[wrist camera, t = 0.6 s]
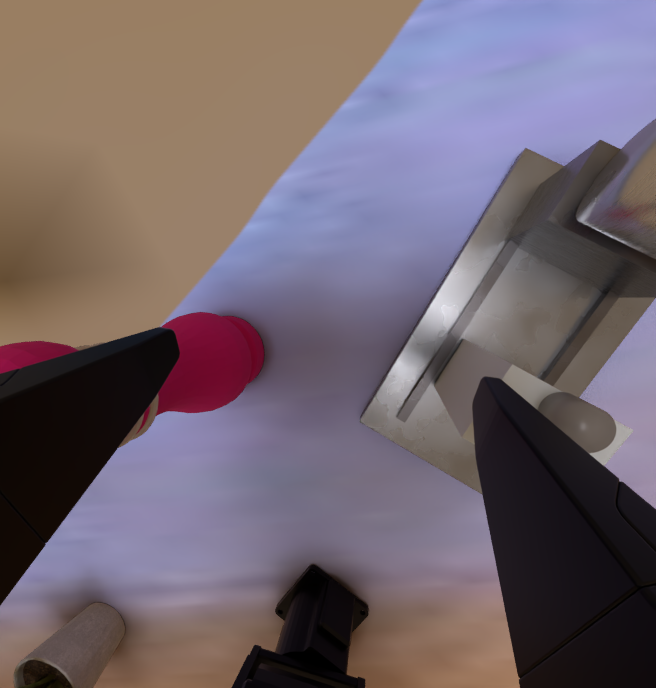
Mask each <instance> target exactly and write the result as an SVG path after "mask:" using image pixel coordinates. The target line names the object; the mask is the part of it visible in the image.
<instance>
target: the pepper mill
mask: <svg viewBox="0 0 656 688" xmlns="http://www.w3.org/2000/svg"><path fill="white" fill-rule="evenodd" d="M162 327H163V328H169V329H172V330H173V331H174V332H175V334H176V338H177V342H178V346H179V350H180V356H179V359H178V361H177V363H176V364H175V366H174V368H173V369H172V371H171V373H170V374H169V376H168V378H167V379H166V381H165V383H164V384H163V386H162V388H161V389H160V391H159V393H158V394H157V396H156V397H155V399H154V400H153V402H152V403H151V404H150V406H149V407H148V408H147V410H146V411H145V412H144V414H143V415H142V416H141V418H140V419H139V420H138V422H137V423H136V424H135V426H134V427H133V428H132V430H131V431H130V432H129V434H128V435H127V436H126V438H125V439H124V440H123V442H122V443H121V444H120V446H119V447H121V446H123V445H125V444H126V443H128V442H129V441H130V440H133V439H136V438H137V437H139V436H141V435H142V434H143V433H145V432H146V431H147V430H148V428H149V427H150V426H151V424H152V423H153V421H154V419H155V416H157V415H159V414H161V413H163V412H166V411H177V412H185V413H199V412H206V411H212V410H215V409H217V408H220V407H222V406H224V405H227V404H228V403H230V402H231V401H233V400H234V399H236V398H237V397H238V396H239V395H240V394H241V392H242V391H243V390H244V388H245V386H246V385H247V384H248V383H250V382H251V381H253V380H254V379H255V378H256V376H257V375H258V374H259V372H260V370H261V368H262V365H263V362H264V347H263V343H262V340H261V338H260V336H259V334H258V333H257V331H256V330H255V329H254V328H253V327H252V326H251V325H250V324H249V323H248V322H246V321H244V320H242V319H240V318H237V317H233V316H222V317H221V316H219V315H216V314H212V313H205V312H198V313H191V314H187V315H183V316H179V317H177V318H175V319H173V320H171V321H169V322H168V323H166V324H165V325H163V326H162ZM100 344H103V343H99V344H94V345H91V346H90V345H85V346H80V347H76V348H73V347H71V346H67V345H63V344H58V343H51V342H44V341H33V342H21V343H14V344H9V345H4V346H1V347H0V374H1V373H4V372H8V371H11V370H14V369H21V368H22V367H25V366H28V365H32V364H35V363H38V362H42V361H45V360H49V359H52V358H56V357H59V356H62V355H66V354H69V353H73V352H76V351H79V350H83V349H86V348H90V347H93V346H96V345H100ZM119 447H118V448H119Z"/></svg>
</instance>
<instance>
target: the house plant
mask: <svg viewBox="0 0 656 688" xmlns="http://www.w3.org/2000/svg"><path fill="white" fill-rule="evenodd" d="M124 634H125V625H124V622H123V620H122V617H121V616H120V615H119V613H118V612H117V611H116V610H115V609H114V608H112V607H111V606H109V605H107V604H104V603H93V604H91V605H89V606H88V607H87V608H85V609H84V610H83V611H82V612H81V613H79V614H78V615H77V616H76V617H74V618H73V619H72V620H71V621H69V622H68V623H67V624H66V625H65V626H63V627H62V628H61V629H60V630H58V631H57V632H56V633H55V634H53V635H52V636H51V637H50V638H49V639H47V640H46V641H45V642H44V643H42V644H41V645H40V646H39V647H37V648H36V649H35V650H34V651H33V652H31V653H30V654H29V655H28V656H26V657H25V658H24V659H23V660H21V661H20V663H19V664H18V665H17V666H16V669H15V672H14V686H15V688H93V687H94V685H95V684H96V682H97V680H98V678H99V677H100V675H101V673H102V672H103V670H104V668H105V667H106V665H107V663H108V661H109V660H110V658H111V656H112V655H113V653H114V651H115V650H116V648H117V646H118V645H119V643H120V641H121V639H122V638H123V636H124Z"/></svg>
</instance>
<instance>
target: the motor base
mask: <svg viewBox="0 0 656 688" xmlns="http://www.w3.org/2000/svg"><path fill="white" fill-rule="evenodd" d="M655 298H656V119H655V120H653V121H652V122H651V123H649V124H648V125H647V126H645V127H644V128H643V129H642V130H641V131H640V132H638V133H637V134H636V135H635V136H634V137H633V138H632V139H631V140H630V141H629V142H628V143H627V144H626V145H625V146H624V147H623V148H622V149H619V148H617V147H614V146H612V145H610V144H608V143H606V142H604V141H602V140H599V141H598V142H596V143H595V144H594V145H592V146H591V147H590V148H588V149H587V150H586V151H584V152H583V153H582V154H580V155H579V156H578V157H576V158H575V159H574V160H572V161H571V162H569V163H568V164H567V165H565V166H562V165H560V164H558V163H556V162H554V161H552V160H550V159H548V158H546V157H544V156H541V155H539V154H537V153H535V152H533V151H531V150H529V149H527V148H525V149H524V150H523V152H522V153H521V154H520V155H519V156H518V157H517V159H516V161H515V162H514V164H513V166H512V167H511V169H510V171H509V172H508V174H507V176H506V177H505V179H504V181H503V182H502V184H501V185H500V187H499V189H498V190H497V192H496V194H495V195H494V197H493V199H492V200H491V202H490V204H489V205H488V207H487V209H486V210H485V212H484V214H483V215H482V217H481V218H480V220H479V222H478V223H477V225H476V227H475V228H474V230H473V232H472V233H471V235H470V237H469V238H468V240H467V242H466V243H465V245H464V247H463V248H462V250H461V251H460V253H459V255H458V256H457V258H456V260H455V261H454V263H453V265H452V266H451V268H450V270H449V271H448V273H447V275H446V276H445V278H444V280H443V281H442V283H441V284H440V286H439V288H438V289H437V291H436V293H435V294H434V296H433V298H432V299H431V301H430V303H429V304H428V306H427V308H426V309H425V311H424V313H423V314H422V316H421V318H420V319H419V321H418V322H417V324H416V326H415V327H414V329H413V331H412V332H411V334H410V336H409V337H408V339H407V341H406V342H405V344H404V346H403V347H402V349H401V351H400V352H399V354H398V355H397V357H396V359H395V360H394V362H393V364H392V365H391V367H390V369H389V370H388V372H387V374H386V375H385V377H384V379H383V380H382V382H381V384H380V385H379V387H378V388H377V390H376V392H375V393H374V395H373V397H372V398H371V400H370V402H369V403H368V405H367V407H366V408H365V410H364V412H363V413H362V415H361V417H360V421H359V422H361V423H362V424H364V425H366V426H367V427H369V428H371V429H372V430H374V431H376V432H378V433H379V434H381V435H383V436H384V437H386V438H388V439H389V440H391V441H393V442H394V443H396V444H398V445H400V446H401V447H403V448H405V449H406V450H408V451H410V452H411V453H413V454H415V455H416V456H418V457H420V458H422V459H423V460H425V461H427V462H428V463H430V464H432V465H433V466H435V467H437V468H438V469H440V470H442V471H444V472H445V473H447V474H449V475H450V476H452V477H454V478H455V479H457V480H459V481H461V482H462V483H464V484H466V485H467V486H469V487H471V488H472V489H474V490H476V491H477V492H479V493H481V494H482V489H481V484H480V479H479V474H478V469H477V463H476V456H475V445H474V444H473V443H471V442H469V441H467V440H466V439H464V438H462V437H461V435H460V433H459V431H458V430H457V428H456V426H455V424H454V422H453V420H452V419H451V417H450V415H449V413H448V411H447V409H446V408H445V406H444V404H443V402H442V400H441V398H440V397H439V395H438V393H437V391H436V389H435V387H434V384H435V382H436V381H437V379H438V378H439V376H440V375H441V373H442V372H443V370H444V369H445V367H446V366H447V364H448V362H449V361H450V359H451V358H452V356H453V355H454V353H455V352H456V350H457V349H458V347H459V345H460V344H461V342H462V341H463V339H465V340H467V341H469V342H471V343H473V344H475V345H476V346H478V347H480V348H482V349H484V350H486V351H488V352H490V353H492V354H494V355H496V356H497V357H499V358H501V359H503V360H505V361H507V362H509V363H511V364H513V365H515V366H516V367H518V368H520V369H522V370H524V371H526V372H527V373H529V374H531V375H533V376H535V377H537V378H538V379H540V380H542V381H544V382H546V383H548V384H549V385H551V386H553V387H555V388H557V389H558V390H560V391H562V392H566V393H570V394H572V395H574V396H576V397H578V398H579V397H580V395H581V394H582V393H583V391H584V390H585V389H586V388H587V386H588V385H589V384H590V382H591V381H592V380H593V378H594V377H595V376H596V375H597V373H598V372H599V371H600V369H601V368H602V367H603V365H604V364H605V363H606V362H607V360H608V359H609V358H610V356H611V355H612V354H613V352H614V351H615V350H616V349H617V347H618V346H619V345H620V343H621V342H622V341H623V339H624V338H625V337H626V336H627V334H628V333H629V332H630V330H631V329H632V328H633V326H634V325H635V324H636V323H637V321H638V320H639V319H640V317H641V316H642V315H643V313H644V312H645V311H646V310H647V308H648V307H649V306H650V304H651V303H652V302H653V300H654V299H655Z"/></svg>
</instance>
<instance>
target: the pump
mask: <svg viewBox="0 0 656 688" xmlns="http://www.w3.org/2000/svg"><path fill="white" fill-rule="evenodd" d="M484 376H488V377H495V378H500V379H501V380H503V381H504V382H505V383H506V384H507V385H509V386H510V387H511V388H512V389H513V390H514V391H516V392H517V393H518V394H519V395H520V396H522V397H523V398H524V399H525V400H526V401H527V402H529V403H530V404H531V405H532V406H533V407H535V408H536V409H537V410H538V411H539V412H540V413H542V414H543V415H544V416H545V417H546V418H548V419H549V420H550V421H551V422H552V423H554V424H555V425H556V426H557V427H558V428H559V429H561V430H562V431H563V432H564V433H565V434H567V435H568V436H569V437H570V438H571V439H572V440H574V441H575V442H576V443H577V444H578V445H580V446H581V447H582V448H583V449H584V450H586V451H587V452H588V453H589V454H590V455H591V456H593V457H594V458H595V459H596V460H597V461H599V462H600V463H601V464H602V465H603V466H604V465H605V464H606V463H607V462H608V461H609V459H610V458H611V457H612V456H613V455H614V453H615V452H616V451H617V450H618V449H619V447H620V446H621V445H622V444H623V443H624V441H625V440H626V439H627V438H628V437H629V435H630V434H631V433H632V432H633V430H632V429H630V428H628V427H626V426H624V425H622V424H621V423H619V422H617V421H615V420H613V418H612V417H611V416H610V415H609V414H608V413H607V412H605V411H604V410H602V409H600V408H598V407H596V406H594V405H592V404H590V403H588V402H586V401H584V400H582V399H580V398H578V397H576V396H574V395H572V394H570V393H566V392H562V391H560V390H558V389H557V388H555V387H553V386H551V385H549V384H548V383H546V382H544V381H542V380H540V379H538V378H537V377H535V376H533V375H531V374H529V373H527V372H526V371H524V370H522V369H520V368H518V367H516V366H515V365H513V364H511V363H509V362H507V361H505V360H503V359H501V358H499V357H497V356H496V355H494V354H492V353H490V352H488V351H486V350H484V349H482V348H480V347H478V346H476V345H475V344H473V343H471V342H469V341H467V340H465V339H463V341H462V342H461V344H460V345H459V347H458V349H457V350H456V352H455V353H454V355H453V356H452V358H451V359H450V361H449V362H448V364H447V366H446V367H445V369H444V370H443V372H442V373H441V375H440V376H439V378H438V379H437V381H436V382H435V384H434V387H435V389H436V391H437V393H438V395H439V397H440V398H441V400H442V402H443V404H444V406H445V408H446V409H447V411H448V413H449V415H450V417H451V419H452V420H453V422H454V424H455V426H456V428H457V430H458V431H459V433H460V435H461V437H462V438H464V439H466V440H467V441H469V442H471V443H473V444H474V445H475V443H474V428H473V413H472V403H473V399H474V396H475V393H476V391H477V388H478V385H479V383H480V380H481V379H482V377H484Z"/></svg>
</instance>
